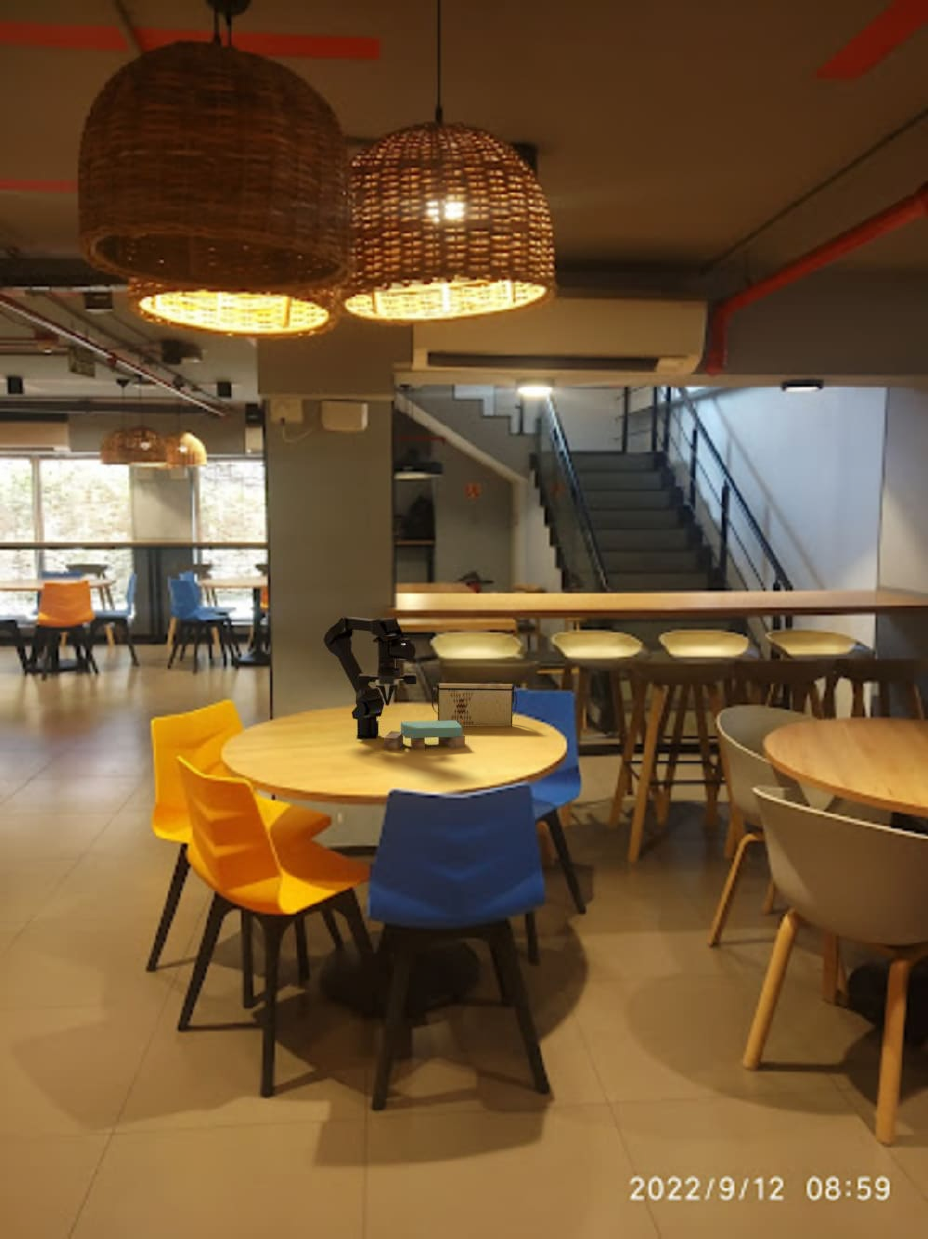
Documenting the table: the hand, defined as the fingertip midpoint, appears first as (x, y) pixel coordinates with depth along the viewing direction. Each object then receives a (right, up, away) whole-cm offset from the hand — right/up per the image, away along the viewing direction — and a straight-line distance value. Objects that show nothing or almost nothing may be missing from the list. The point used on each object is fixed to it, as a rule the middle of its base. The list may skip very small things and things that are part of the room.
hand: (387, 705), depth 286 cm
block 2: (+10, -13, -4) cm, 16 cm away
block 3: (+21, -13, -3) cm, 24 cm away
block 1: (+2, -13, -4) cm, 14 cm away
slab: (+14, -9, -3) cm, 17 cm away
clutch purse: (+28, -9, +24) cm, 38 cm away
